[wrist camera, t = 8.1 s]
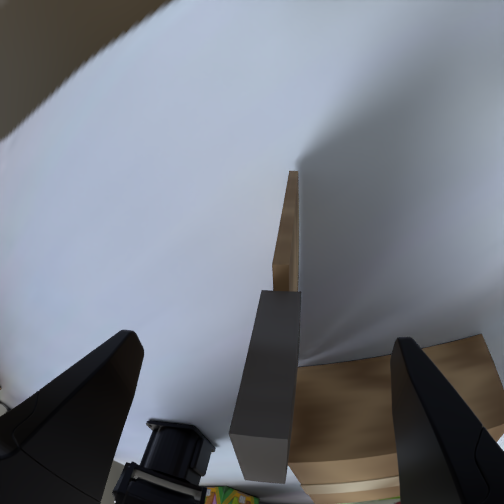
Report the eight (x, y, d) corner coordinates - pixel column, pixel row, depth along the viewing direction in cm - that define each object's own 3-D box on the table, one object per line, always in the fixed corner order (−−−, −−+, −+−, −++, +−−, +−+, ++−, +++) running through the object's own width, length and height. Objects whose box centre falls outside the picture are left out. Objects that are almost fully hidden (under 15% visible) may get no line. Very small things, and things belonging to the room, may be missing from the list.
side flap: (299, 366, 21) (281, 526, 11) (285, 366, 21) (262, 525, 11) (304, 171, 14) (288, 417, 4) (282, 171, 14) (221, 411, 4)
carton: (320, 439, 27) (315, 505, 21) (296, 367, 21) (285, 464, 15) (452, 418, 23) (462, 481, 17) (482, 333, 17) (514, 421, 11)
